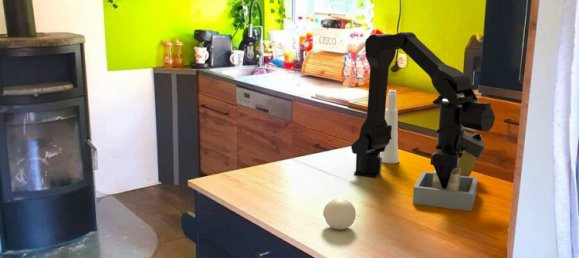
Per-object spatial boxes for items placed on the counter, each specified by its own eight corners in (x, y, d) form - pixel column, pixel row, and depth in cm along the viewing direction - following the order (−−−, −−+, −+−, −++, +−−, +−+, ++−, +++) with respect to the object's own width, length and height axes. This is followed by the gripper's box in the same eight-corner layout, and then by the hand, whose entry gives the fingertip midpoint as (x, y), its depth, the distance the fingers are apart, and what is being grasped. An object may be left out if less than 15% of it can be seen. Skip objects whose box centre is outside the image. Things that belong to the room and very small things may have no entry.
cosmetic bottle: (378, 157, 190) (381, 88, 185) (398, 158, 189) (402, 89, 184) (379, 163, 184) (382, 91, 179) (399, 164, 183) (403, 92, 178)
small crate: (432, 191, 152) (433, 172, 150) (435, 184, 157) (436, 165, 156) (456, 194, 150) (458, 175, 148) (459, 187, 155) (460, 168, 154)
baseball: (334, 219, 139) (334, 191, 138) (360, 227, 135) (361, 199, 133) (316, 228, 134) (316, 199, 133) (343, 236, 130) (344, 207, 128)
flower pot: (468, 173, 175) (471, 143, 173) (474, 183, 166) (477, 151, 164) (437, 172, 176) (439, 142, 174) (442, 181, 167) (444, 150, 165)
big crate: (412, 203, 150) (413, 186, 149) (422, 186, 163) (423, 171, 162) (471, 211, 145) (472, 194, 144) (476, 193, 158) (477, 177, 157)
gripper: (481, 135, 138) (476, 200, 142) (487, 119, 155) (482, 177, 159) (432, 131, 142) (428, 194, 146) (442, 115, 159) (438, 172, 163)
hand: (446, 184), depth 153 cm, fingers closed on small crate, 6 cm apart
